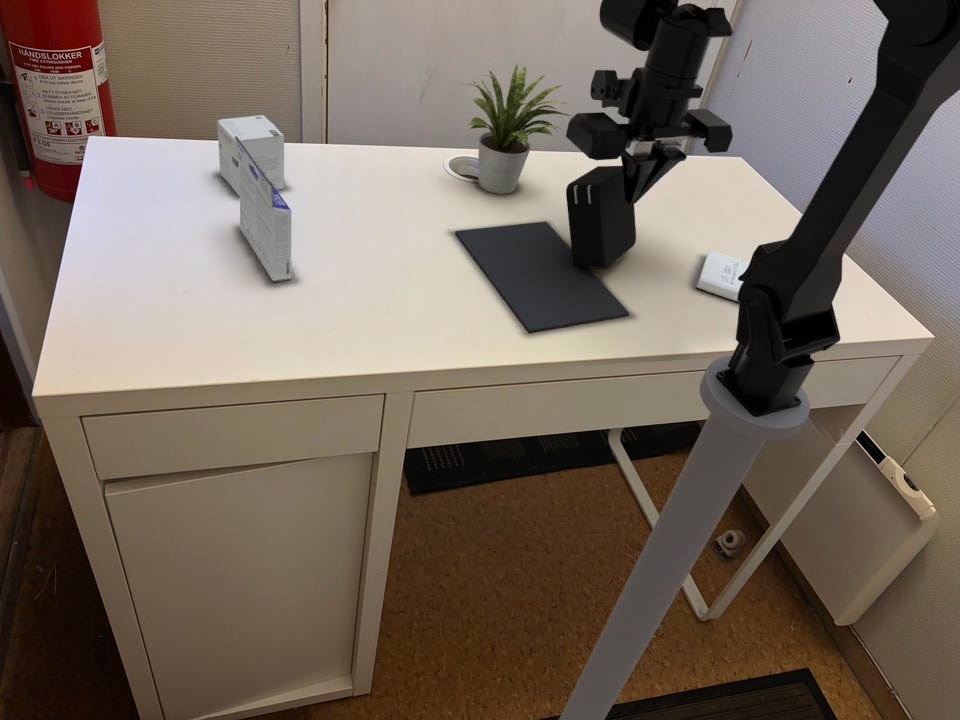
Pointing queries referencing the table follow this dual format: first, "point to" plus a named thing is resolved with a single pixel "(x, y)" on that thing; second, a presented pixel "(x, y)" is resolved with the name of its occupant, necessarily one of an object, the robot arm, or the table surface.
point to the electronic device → (600, 218)
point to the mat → (540, 276)
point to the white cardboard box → (251, 148)
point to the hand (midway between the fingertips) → (629, 202)
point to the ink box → (264, 217)
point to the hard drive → (722, 275)
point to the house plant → (508, 131)
